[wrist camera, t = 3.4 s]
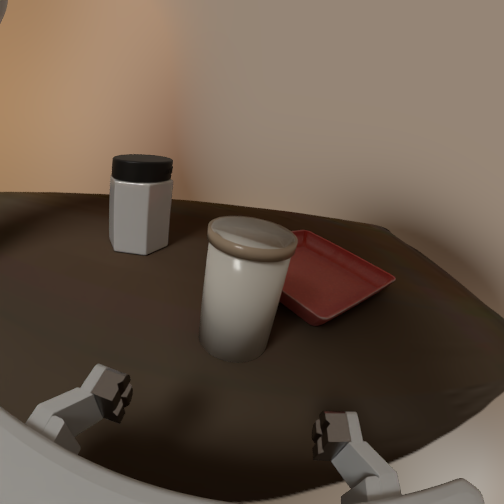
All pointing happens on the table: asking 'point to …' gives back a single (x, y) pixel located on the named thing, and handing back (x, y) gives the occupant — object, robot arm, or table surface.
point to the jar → (140, 203)
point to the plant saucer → (328, 279)
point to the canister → (243, 285)
